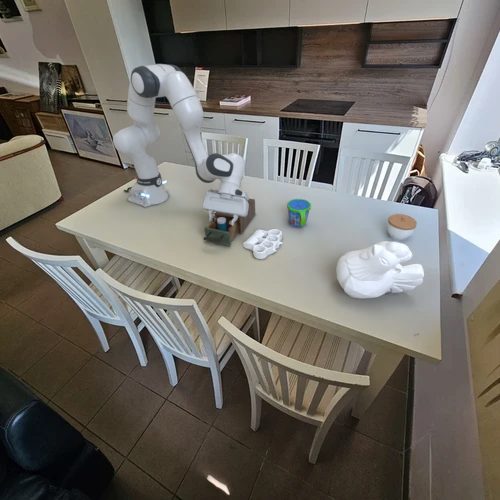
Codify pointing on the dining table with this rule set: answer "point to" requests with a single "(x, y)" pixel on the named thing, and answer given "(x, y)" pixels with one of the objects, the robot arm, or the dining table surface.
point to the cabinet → (242, 220)
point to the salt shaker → (222, 224)
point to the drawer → (221, 232)
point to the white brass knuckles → (264, 242)
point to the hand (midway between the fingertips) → (221, 223)
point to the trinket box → (400, 226)
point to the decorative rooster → (378, 271)
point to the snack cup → (298, 211)
